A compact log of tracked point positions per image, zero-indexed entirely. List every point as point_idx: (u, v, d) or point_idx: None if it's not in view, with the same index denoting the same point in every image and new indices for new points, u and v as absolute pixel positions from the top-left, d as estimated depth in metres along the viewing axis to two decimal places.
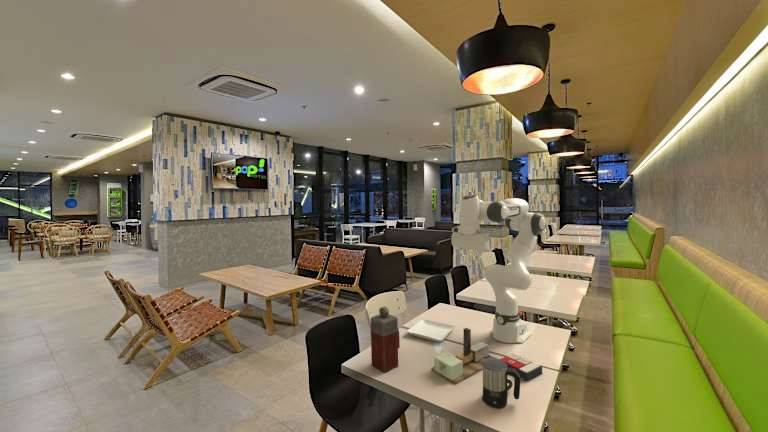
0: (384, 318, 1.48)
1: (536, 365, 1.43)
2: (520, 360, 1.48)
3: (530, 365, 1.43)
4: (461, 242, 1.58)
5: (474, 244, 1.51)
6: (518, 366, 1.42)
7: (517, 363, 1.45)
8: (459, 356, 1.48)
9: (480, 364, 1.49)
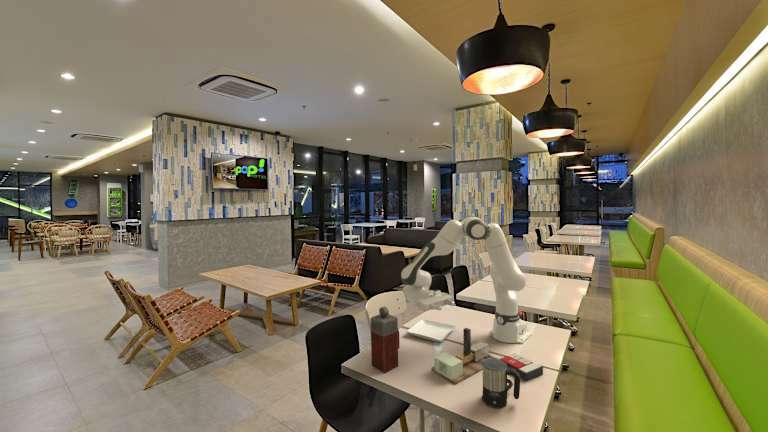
0: (384, 318, 1.48)
1: (536, 366, 1.42)
2: (521, 360, 1.47)
3: (530, 365, 1.43)
4: None
5: None
6: (518, 366, 1.43)
7: (518, 362, 1.45)
8: (459, 356, 1.48)
9: (480, 364, 1.49)
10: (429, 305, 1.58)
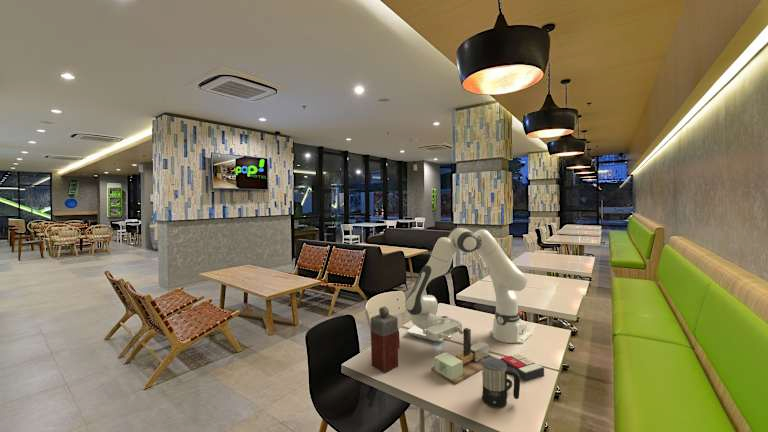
0: (384, 318, 1.48)
1: (537, 367, 1.42)
2: (523, 360, 1.47)
3: (531, 366, 1.42)
4: None
5: None
6: (518, 366, 1.43)
7: (518, 362, 1.45)
8: (459, 356, 1.48)
9: (480, 364, 1.49)
10: (438, 334, 1.55)
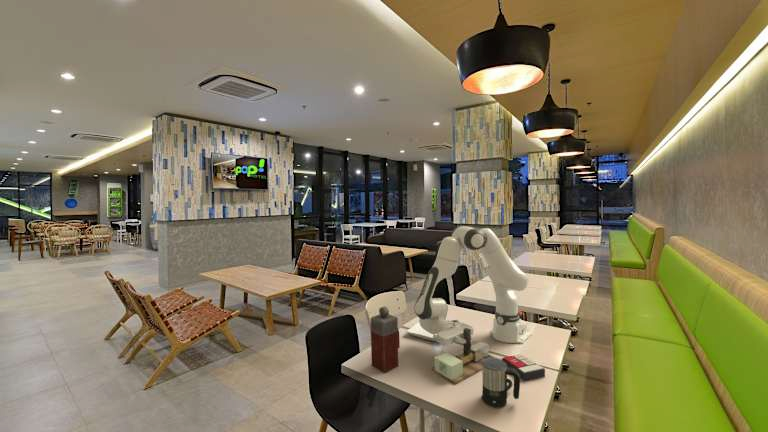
0: (384, 318, 1.48)
1: (538, 367, 1.41)
2: (524, 361, 1.47)
3: (532, 366, 1.42)
4: None
5: None
6: (518, 365, 1.43)
7: (519, 362, 1.46)
8: (459, 356, 1.48)
9: (480, 364, 1.49)
10: (449, 339, 1.49)
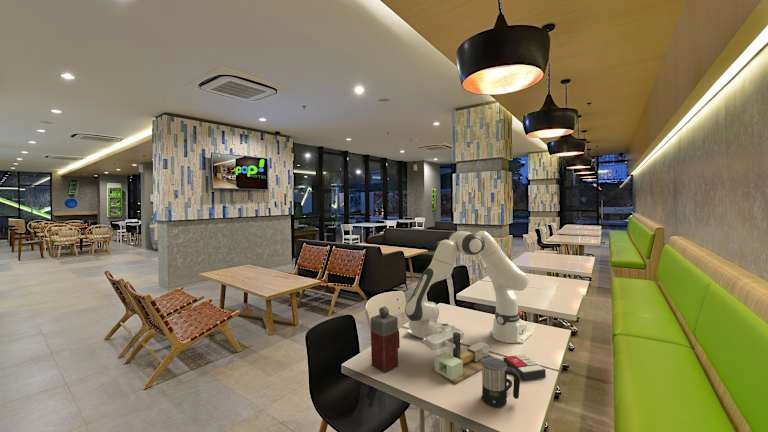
0: (384, 318, 1.48)
1: (538, 368, 1.41)
2: (525, 361, 1.47)
3: (532, 367, 1.42)
4: None
5: None
6: (518, 365, 1.43)
7: (520, 362, 1.45)
8: None
9: (480, 364, 1.49)
10: (438, 344, 1.45)
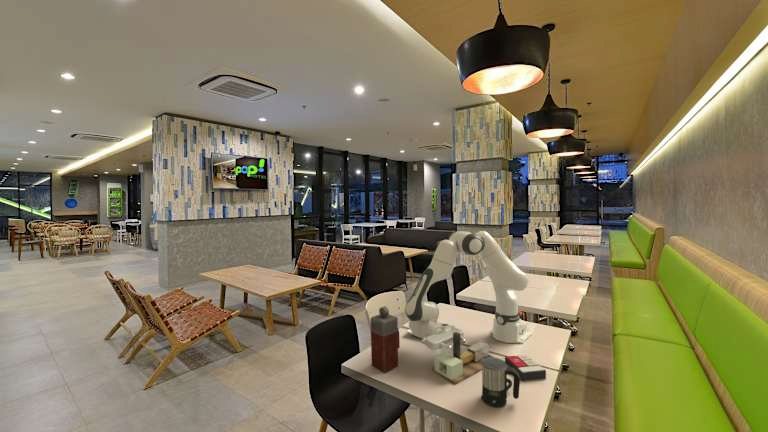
0: (384, 318, 1.48)
1: (539, 369, 1.40)
2: (526, 361, 1.47)
3: (533, 367, 1.41)
4: None
5: None
6: (519, 365, 1.43)
7: (521, 362, 1.45)
8: None
9: (480, 364, 1.49)
10: (438, 344, 1.44)
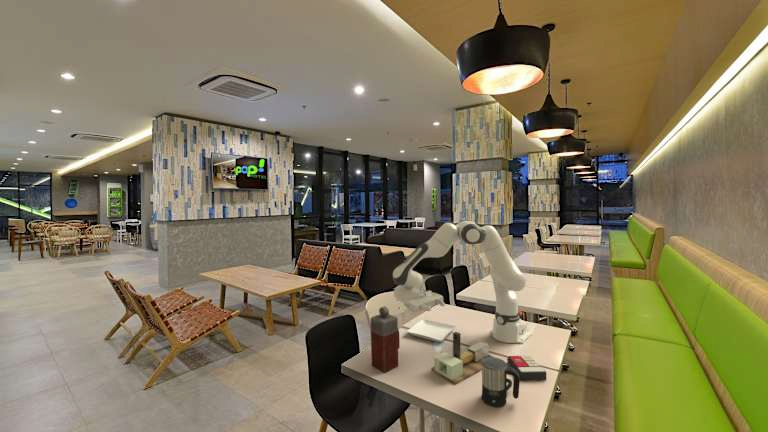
0: (384, 318, 1.48)
1: (539, 370, 1.39)
2: (528, 362, 1.46)
3: (533, 368, 1.41)
4: None
5: None
6: (519, 365, 1.43)
7: (522, 363, 1.45)
8: None
9: (480, 364, 1.49)
10: (419, 306, 1.57)
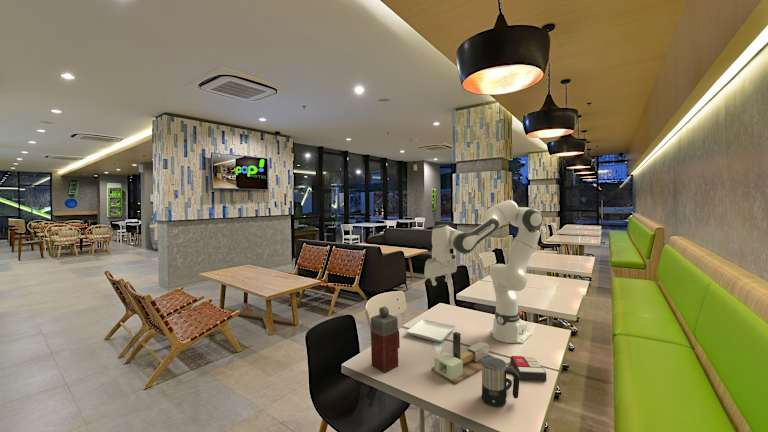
0: (384, 318, 1.48)
1: (539, 371, 1.39)
2: (530, 362, 1.45)
3: (533, 368, 1.40)
4: None
5: None
6: (519, 365, 1.43)
7: (523, 363, 1.45)
8: None
9: (480, 364, 1.49)
10: None
